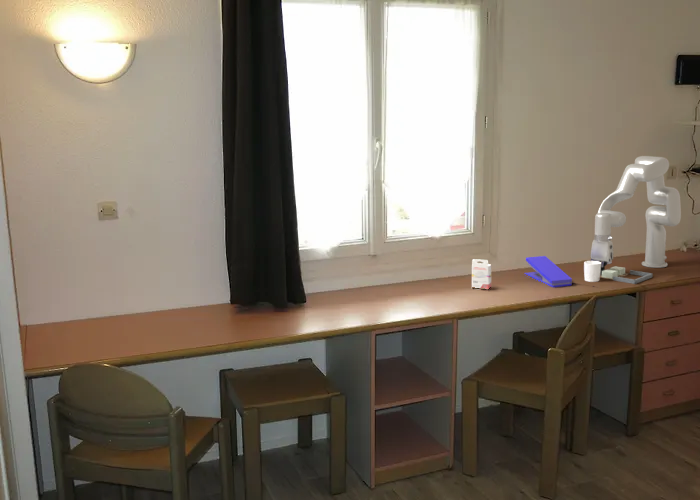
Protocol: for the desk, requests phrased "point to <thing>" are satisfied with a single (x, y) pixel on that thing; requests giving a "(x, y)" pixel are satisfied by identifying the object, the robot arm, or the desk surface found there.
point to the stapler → (547, 272)
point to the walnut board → (618, 276)
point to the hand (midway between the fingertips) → (600, 274)
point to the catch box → (645, 277)
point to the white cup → (592, 271)
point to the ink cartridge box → (481, 274)
